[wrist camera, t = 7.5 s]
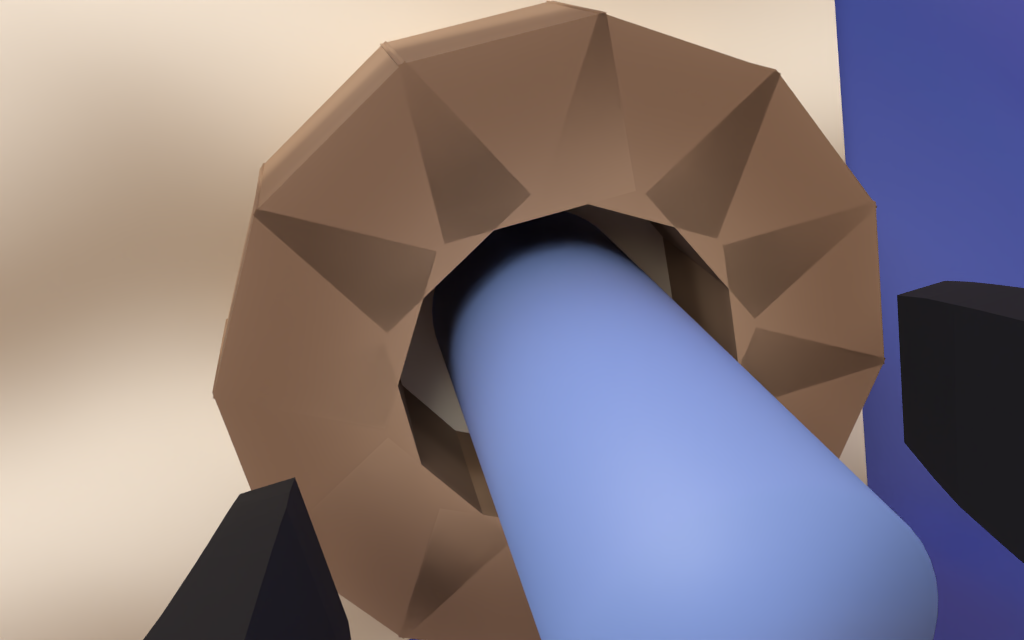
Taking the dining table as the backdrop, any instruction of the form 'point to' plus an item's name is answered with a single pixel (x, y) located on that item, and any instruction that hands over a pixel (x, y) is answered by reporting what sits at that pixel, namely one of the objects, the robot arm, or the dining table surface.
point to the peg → (657, 462)
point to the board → (208, 261)
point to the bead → (501, 203)
